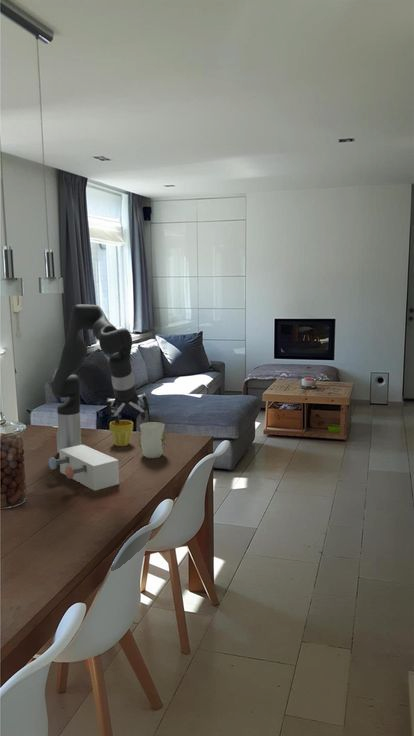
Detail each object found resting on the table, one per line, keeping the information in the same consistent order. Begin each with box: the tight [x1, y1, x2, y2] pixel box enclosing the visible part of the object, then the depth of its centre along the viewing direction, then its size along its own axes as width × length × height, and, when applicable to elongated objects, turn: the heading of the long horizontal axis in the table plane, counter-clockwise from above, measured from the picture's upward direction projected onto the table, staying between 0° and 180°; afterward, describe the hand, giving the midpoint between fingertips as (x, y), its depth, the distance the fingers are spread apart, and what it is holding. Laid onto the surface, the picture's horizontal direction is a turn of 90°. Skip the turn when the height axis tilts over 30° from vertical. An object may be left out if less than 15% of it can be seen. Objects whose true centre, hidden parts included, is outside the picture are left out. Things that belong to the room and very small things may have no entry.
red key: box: [65, 465, 86, 479], centre depth 204 cm, size 8×4×4 cm, turn 131°
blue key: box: [48, 456, 69, 470], centre depth 214 cm, size 8×4×4 cm, turn 131°
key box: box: [58, 444, 120, 492], centre depth 214 cm, size 10×26×9 cm, turn 41°
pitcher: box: [138, 421, 167, 459], centre depth 241 cm, size 11×18×14 cm, turn 178°
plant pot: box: [109, 419, 134, 447], centre depth 257 cm, size 10×10×10 cm
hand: (130, 420), depth 204 cm, fingers open, 8 cm apart
